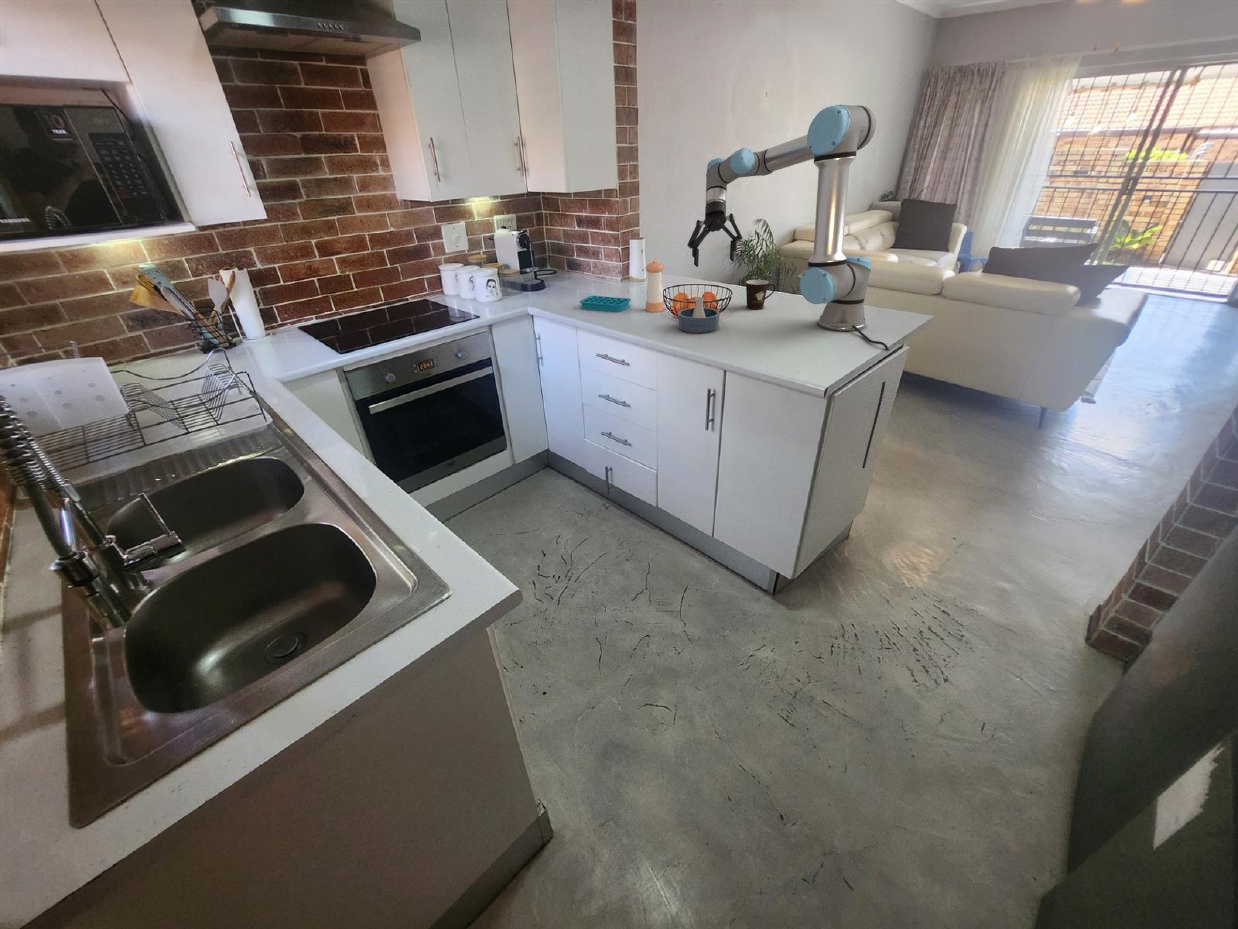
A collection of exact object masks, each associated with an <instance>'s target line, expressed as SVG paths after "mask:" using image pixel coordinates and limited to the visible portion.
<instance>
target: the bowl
mask: <svg viewBox="0 0 1238 929" xmlns="http://www.w3.org/2000/svg"><path fill="white" fill-rule="evenodd" d="M694 309H695V307H689V308H684V309H681V310H680V311H678V313H677V327H678V329H679V330H681V331H683V332H686V333H690V334H705V333H710V332H713V331H715V330H717V329H719V327H720V326H719V325H720V314H721V313H720V311H719V310H717V309H715V308H710V307H703V309H704V313H705V317H706V318H691V317H692V315H693V312H694Z"/></svg>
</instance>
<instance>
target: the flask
mask: <svg viewBox="0 0 1238 929" xmlns="http://www.w3.org/2000/svg"><path fill="white" fill-rule="evenodd" d="M704 300H705V298H704V297H700V296H699V297H695V298H694V301H695V302H694V303H695V304H694V308H695V309H694V312H693V315H692V317H691V318H706V317H705V313H704V309H703V308H704Z"/></svg>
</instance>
